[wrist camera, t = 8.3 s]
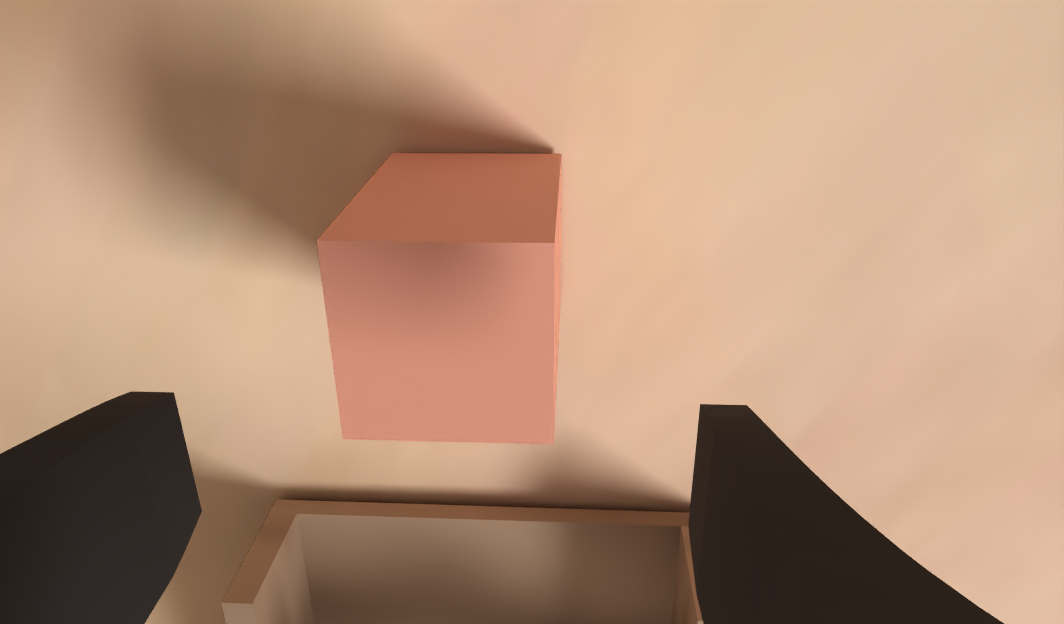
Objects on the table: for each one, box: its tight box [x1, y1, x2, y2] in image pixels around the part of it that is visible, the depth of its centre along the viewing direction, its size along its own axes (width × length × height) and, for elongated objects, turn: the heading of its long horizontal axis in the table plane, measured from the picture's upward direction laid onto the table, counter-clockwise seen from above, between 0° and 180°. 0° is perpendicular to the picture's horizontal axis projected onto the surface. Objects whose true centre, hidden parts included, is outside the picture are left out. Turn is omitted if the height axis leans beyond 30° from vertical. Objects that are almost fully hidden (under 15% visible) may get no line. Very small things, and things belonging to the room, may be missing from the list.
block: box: [317, 153, 561, 444], centre depth 17 cm, size 4×4×6 cm
